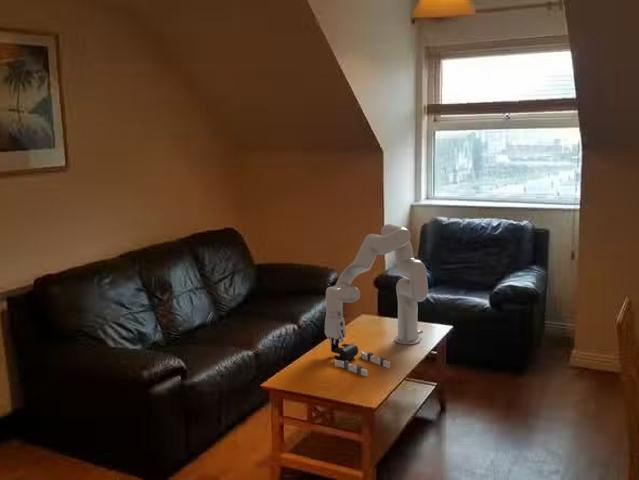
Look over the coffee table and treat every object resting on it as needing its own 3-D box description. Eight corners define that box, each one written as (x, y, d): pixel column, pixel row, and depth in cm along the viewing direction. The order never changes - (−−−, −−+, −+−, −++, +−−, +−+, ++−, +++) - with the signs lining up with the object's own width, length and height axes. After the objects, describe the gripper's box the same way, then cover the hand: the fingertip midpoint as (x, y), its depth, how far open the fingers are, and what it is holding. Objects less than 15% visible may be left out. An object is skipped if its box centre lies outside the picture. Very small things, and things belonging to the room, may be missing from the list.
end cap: (347, 365, 301) (347, 350, 299) (333, 362, 304) (333, 347, 303) (358, 358, 309) (358, 344, 307) (345, 355, 313) (345, 341, 311)
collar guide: (362, 355, 311) (362, 348, 311) (392, 366, 298) (392, 358, 297) (333, 365, 300) (333, 358, 299) (363, 377, 286) (363, 369, 285)
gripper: (351, 315, 305) (351, 353, 309) (329, 308, 316) (330, 345, 320) (339, 318, 300) (339, 357, 304) (317, 311, 312) (318, 349, 315)
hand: (334, 351), depth 312 cm, fingers closed
